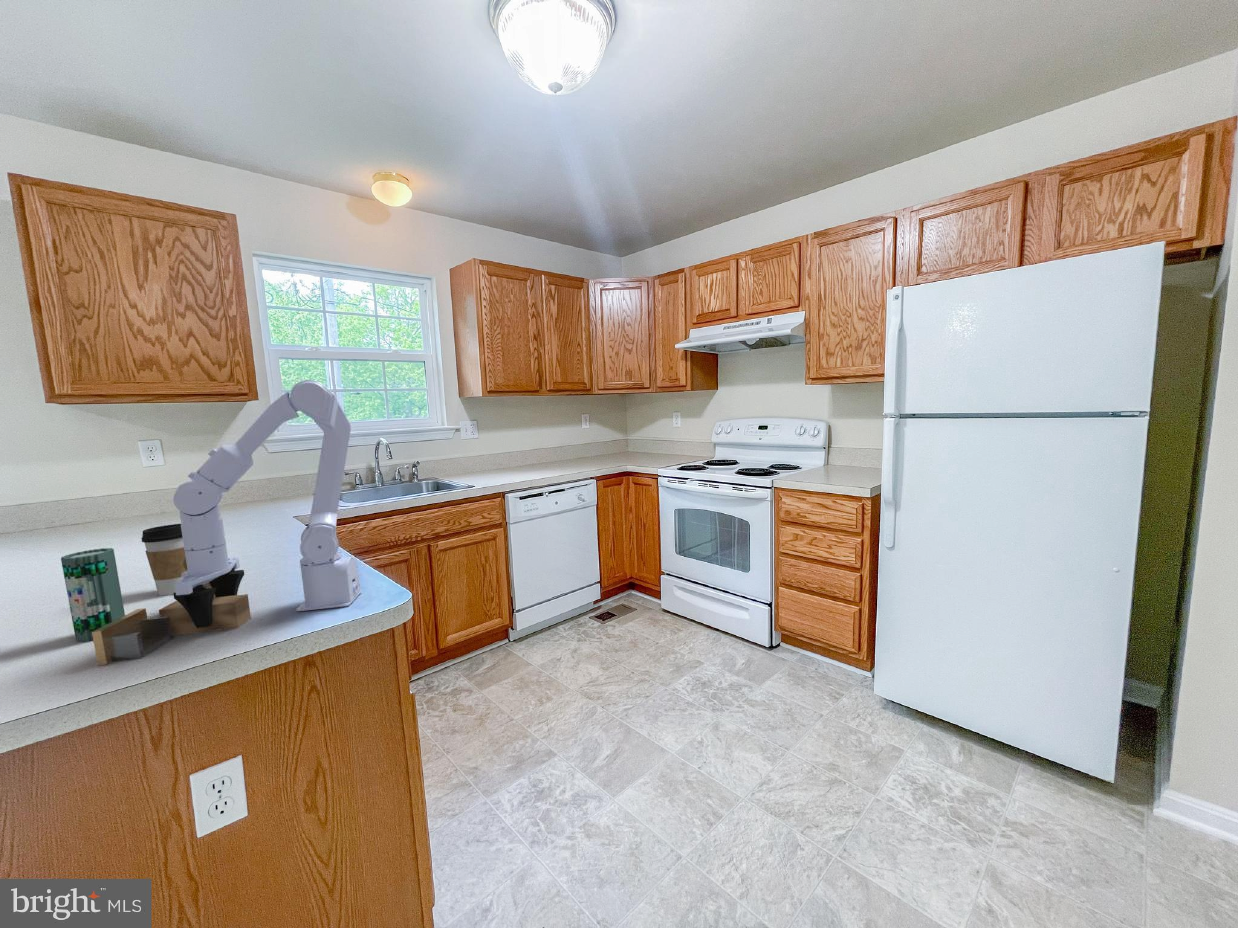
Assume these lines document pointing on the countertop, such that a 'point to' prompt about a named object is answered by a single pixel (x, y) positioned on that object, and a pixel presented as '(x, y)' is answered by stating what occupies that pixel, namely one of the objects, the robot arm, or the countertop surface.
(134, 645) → the bracket
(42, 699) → the countertop surface
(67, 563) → the can
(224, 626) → the tan rectangular block
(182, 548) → the coffee cup
